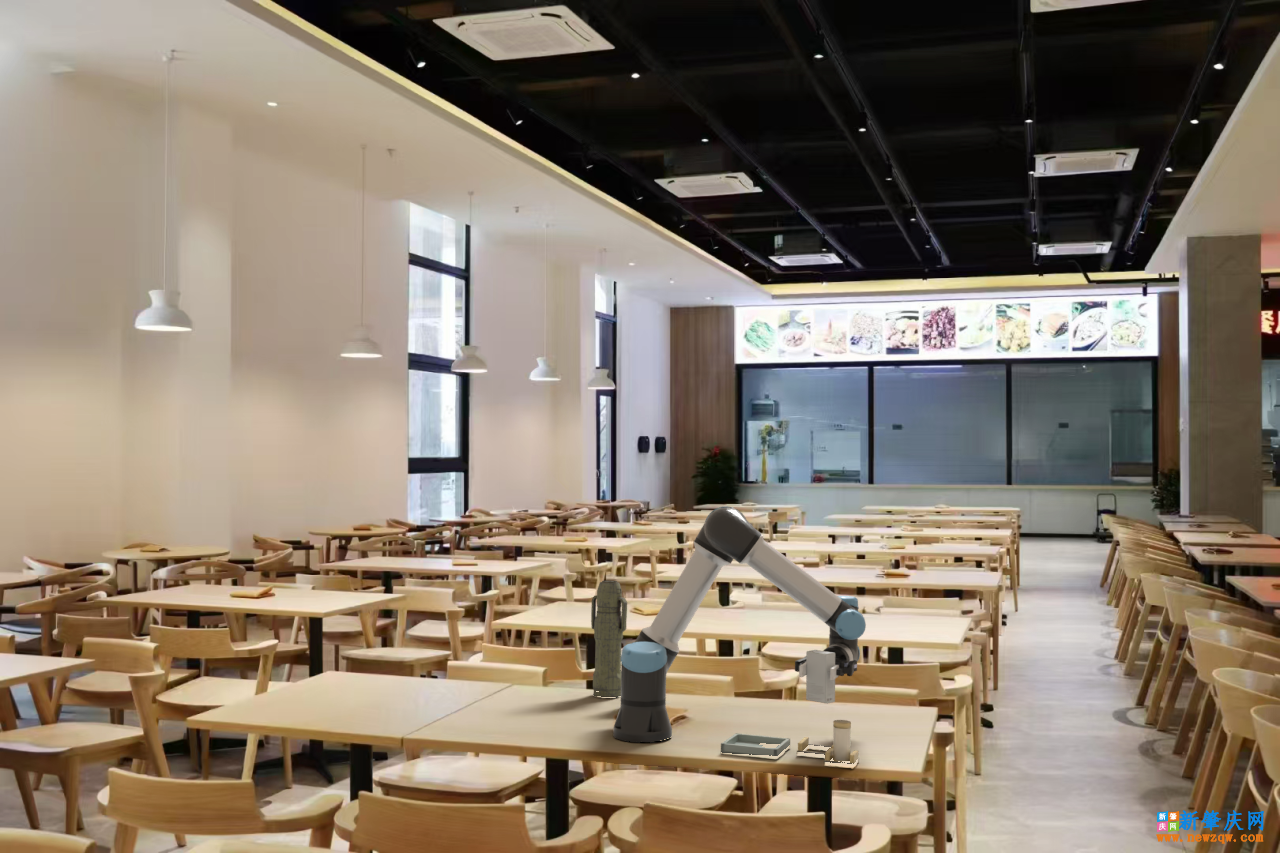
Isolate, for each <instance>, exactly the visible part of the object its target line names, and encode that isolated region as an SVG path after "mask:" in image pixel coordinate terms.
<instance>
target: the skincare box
mask: <svg viewBox="0 0 1280 853" xmlns="http://www.w3.org/2000/svg"><path fill="white" fill-rule="evenodd" d="M805 653H806V655H805V656H806V675H805V678H806V679H805V681H806V682H805V684H806V686H805V688H806V691H805V693H806V694H805V695H806V697H805V699H806V701H811V702H816V703H820V704H833V703H835V701H836V679H834V680H830V668H832V667H833V666H835V653H833V652H827V651H823V650H818V649H812V650H807V651H806V652H805Z"/></svg>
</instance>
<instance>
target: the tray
mask: <svg viewBox="0 0 1280 853" xmlns="http://www.w3.org/2000/svg"><path fill="white" fill-rule="evenodd" d="M760 743H766V744H780V745H778V746H777V747H776V748H765V747H762V746H763V745H759V744H760ZM789 745H790V746H791V738H786V737H778V736H777V737H776V736H768V735H767V736H766V735H760V734H759V735H757V734H747V733H734V734H733V735H731V736H730V737H729V738H727V739H726V740H724V741H723V742H721V743H720V753H721V752H722V753H732V754H749V755H751V754H752V755H769V756H771V755H772V756H778V755H779V754H780V753H781V752H782V751H783V750H784V749H786V748H787V747H788V746H789Z"/></svg>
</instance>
